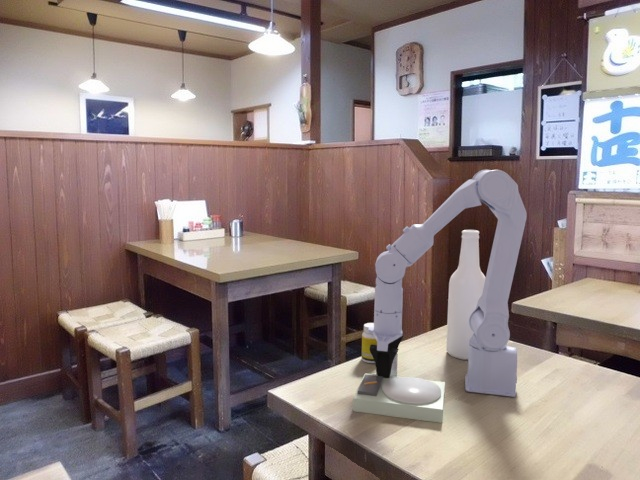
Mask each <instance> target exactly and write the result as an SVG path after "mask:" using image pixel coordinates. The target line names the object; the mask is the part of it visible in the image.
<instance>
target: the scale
mask: <svg viewBox="0 0 640 480" xmlns="http://www.w3.org/2000/svg"><path fill="white" fill-rule="evenodd" d="M445 388H446V382H445V381H436V380H429V379H425V378H420V377H414V376H397V377H394V376H390V377H389V378H383V376H377V374H376V373H375V374H374V373H364V375H363V377H362V379H361V381H360V383H359V385H358V387H357V389H356V391H355V393H354V396H353V399H352V412H357V413H363V414H371V415H373V414H374V415H378V416H388V417H393V418H401V419H409V420H417V421H423V422H424V421H425V422H434V423H440V424H442V423H443V416H444V406H445V405H444V403H445V393H446V391H445V390H446V389H445Z"/></svg>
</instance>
